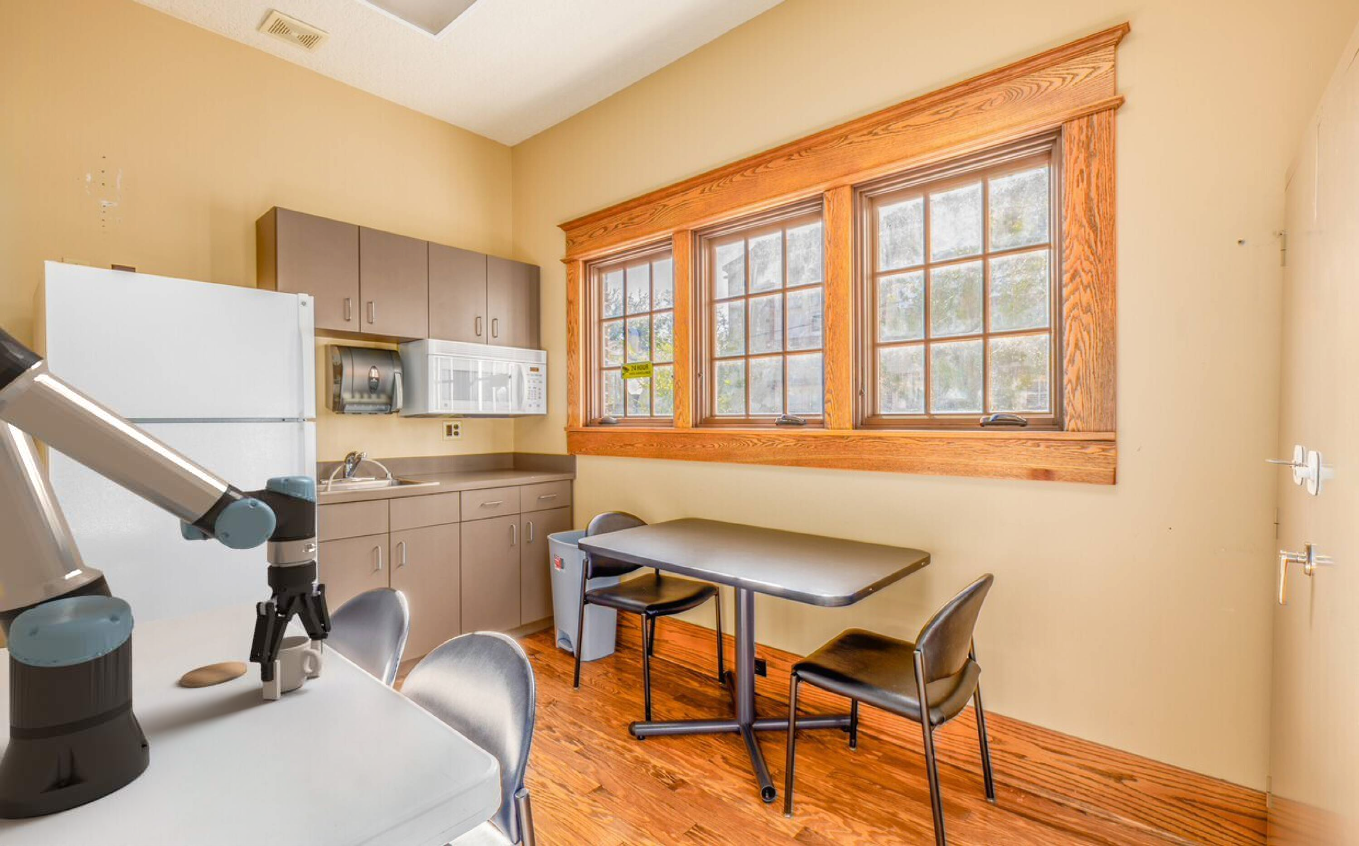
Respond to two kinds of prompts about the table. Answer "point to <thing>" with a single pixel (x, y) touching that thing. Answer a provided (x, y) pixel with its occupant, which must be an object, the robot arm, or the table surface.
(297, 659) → the cup
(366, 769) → the table surface
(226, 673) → the coaster
